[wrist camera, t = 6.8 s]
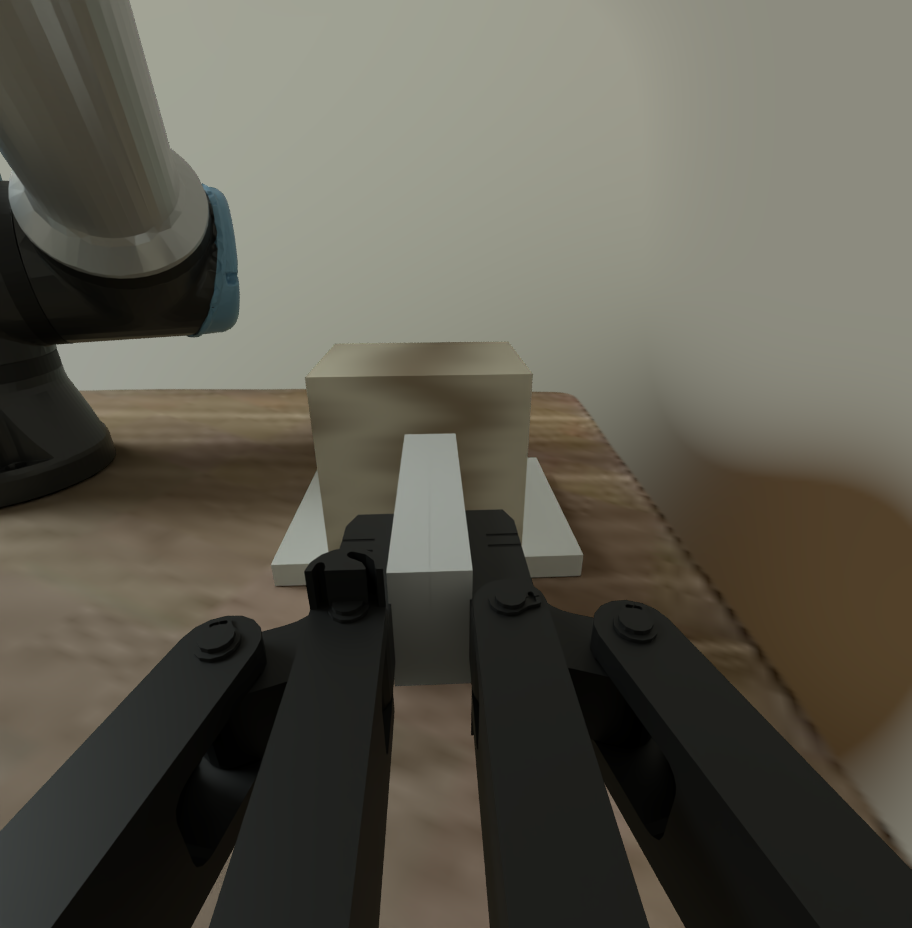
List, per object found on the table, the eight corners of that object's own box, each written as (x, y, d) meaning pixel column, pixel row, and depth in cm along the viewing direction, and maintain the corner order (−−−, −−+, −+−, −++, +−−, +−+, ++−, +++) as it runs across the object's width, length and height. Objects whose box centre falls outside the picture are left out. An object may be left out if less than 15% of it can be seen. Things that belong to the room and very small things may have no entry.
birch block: (344, 671, 23) (304, 377, 17) (360, 588, 28) (335, 343, 23) (514, 664, 23) (532, 373, 17) (498, 583, 29) (508, 341, 23)
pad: (274, 586, 29) (270, 564, 28) (322, 478, 41) (320, 462, 41) (580, 575, 29) (583, 555, 29) (535, 473, 42) (536, 457, 41)
